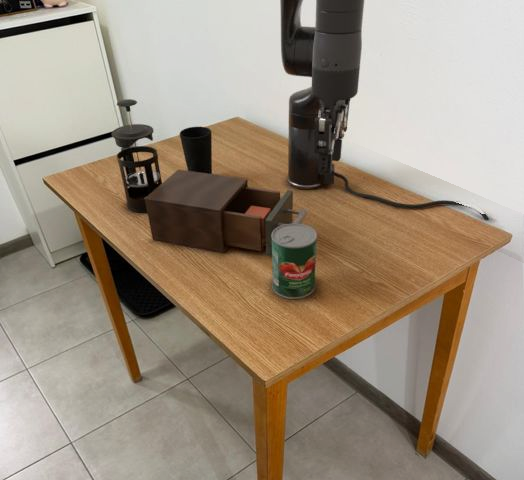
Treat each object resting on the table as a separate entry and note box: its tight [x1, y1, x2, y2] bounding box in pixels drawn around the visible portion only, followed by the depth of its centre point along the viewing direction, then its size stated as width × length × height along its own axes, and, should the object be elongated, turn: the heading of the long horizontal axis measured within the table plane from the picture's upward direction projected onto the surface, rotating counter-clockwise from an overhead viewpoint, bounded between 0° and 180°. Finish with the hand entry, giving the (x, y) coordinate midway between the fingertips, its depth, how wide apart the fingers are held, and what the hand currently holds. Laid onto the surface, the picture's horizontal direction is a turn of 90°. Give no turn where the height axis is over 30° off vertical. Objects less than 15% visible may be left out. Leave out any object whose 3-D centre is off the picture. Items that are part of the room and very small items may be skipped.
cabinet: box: [144, 169, 249, 254], centre depth 107 cm, size 17×15×10 cm
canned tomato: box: [271, 223, 318, 300], centre depth 90 cm, size 8×8×11 cm
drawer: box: [222, 186, 308, 257], centre depth 104 cm, size 20×13×8 cm
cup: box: [179, 126, 213, 174], centre depth 125 cm, size 8×8×12 cm
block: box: [245, 206, 271, 237], centre depth 104 cm, size 4×4×4 cm
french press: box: [111, 98, 163, 214], centre depth 113 cm, size 12×9×23 cm
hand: (329, 166), depth 91 cm, fingers open, 6 cm apart
